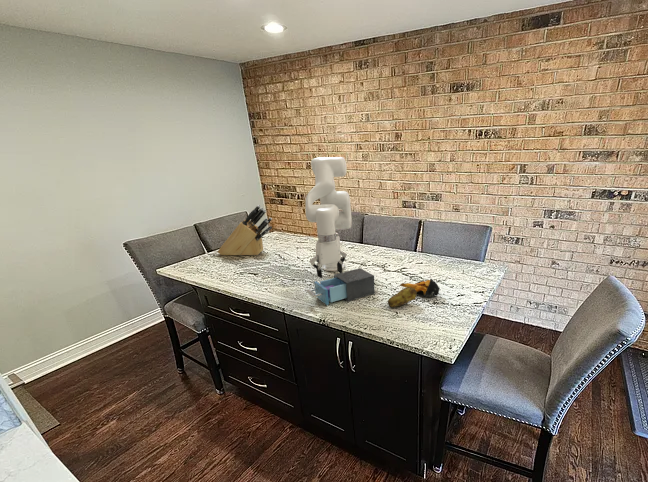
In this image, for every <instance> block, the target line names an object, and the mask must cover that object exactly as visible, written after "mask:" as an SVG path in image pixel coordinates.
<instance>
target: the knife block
mask: <svg viewBox="0 0 648 482" xmlns="http://www.w3.org/2000/svg"><path fill="white" fill-rule="evenodd" d="M266 213H267V210H266V209H264V207H261V205H260V204H257V205H256V206H255V208H254V209H253V210H251V211H250V212H249V214H248V215H247V216H246V218H245V219H244V220H243V221H241V222H240V223H239V224H238V225H237V226H236V227H235V228H234V230H233V231H232V233H231V234H230V235H229V236H228V238H227V239H226V240H225V241H224V242H223V243H222V245H221V246H220V247H219V249H218V250H217V253H218V254H219V255H220V256H259V254H261V252H263V251H264V243H263V237H264V236H265V235H267V233H268V232H270V231H271V230H272V229H273V226H272V225H271V226H268V225H269V223H270V222H272V220H273V218H272V217H269V218H265V219H263V221H262V222H261V223H260V224H259V226H258V225H257V223H258V222H259V221H260V220H261V219H262V218H263V217H264V215H265V214H266ZM267 226H268V227H267ZM265 228H266V229H265ZM264 229H265V230H264Z"/></svg>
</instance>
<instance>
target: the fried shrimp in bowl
mask: <svg viewBox="0 0 648 482" xmlns="http://www.w3.org/2000/svg"><path fill="white" fill-rule="evenodd" d="M399 286H400V287H403V288H406V287H412V288H414V289H415V290H416V292H417V294H416V296H419V297H424V298H425V297H427V298H432V297H435V296H436V297H437V296H438V295H440V290H441V289H440V286H439V285H438V283H437V282H436V281H435V280H433V279H432V278H430V279H427V280H420V281H417V282H414V283H408V282H406V283H404V282H402V283H400V284H399Z"/></svg>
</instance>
